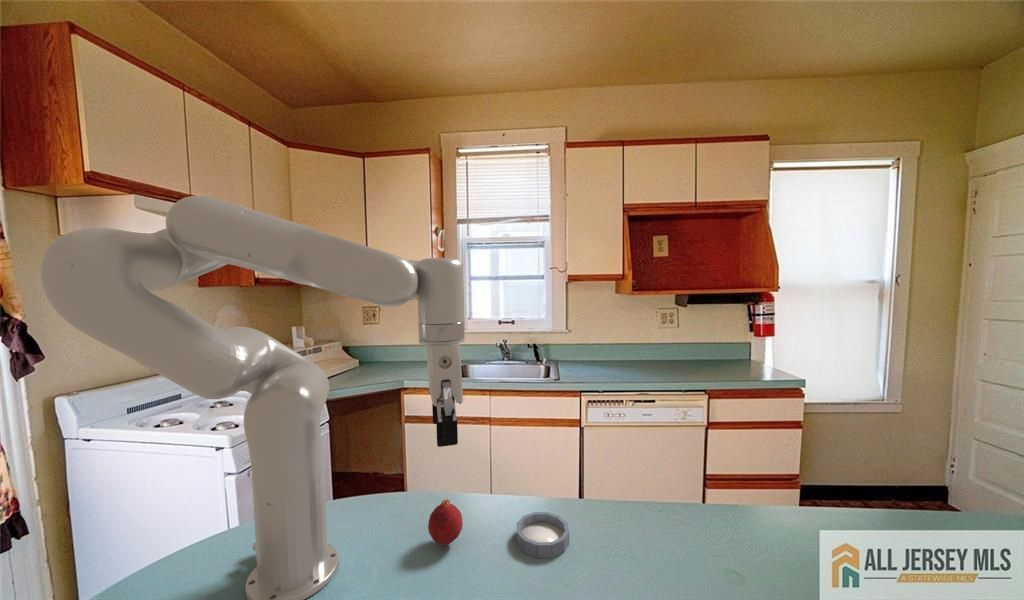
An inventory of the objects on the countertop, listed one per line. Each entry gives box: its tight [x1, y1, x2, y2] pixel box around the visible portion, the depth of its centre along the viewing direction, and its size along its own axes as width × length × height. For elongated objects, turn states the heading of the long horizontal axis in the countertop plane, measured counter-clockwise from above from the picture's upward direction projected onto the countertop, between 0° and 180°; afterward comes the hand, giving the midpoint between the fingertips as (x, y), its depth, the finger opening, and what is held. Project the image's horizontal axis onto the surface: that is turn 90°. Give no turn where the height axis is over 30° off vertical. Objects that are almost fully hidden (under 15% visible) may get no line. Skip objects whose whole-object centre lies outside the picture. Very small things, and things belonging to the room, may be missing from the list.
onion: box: [427, 497, 463, 546], centre depth 68 cm, size 6×6×8 cm
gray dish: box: [516, 511, 570, 559], centre depth 69 cm, size 9×9×2 cm
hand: (444, 433), depth 67 cm, fingers open, 9 cm apart
